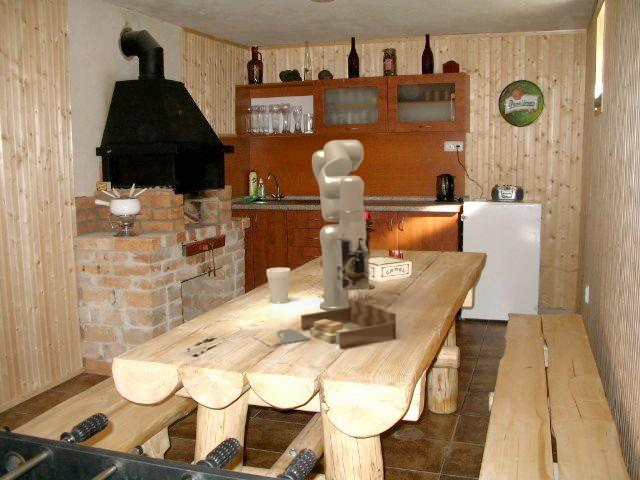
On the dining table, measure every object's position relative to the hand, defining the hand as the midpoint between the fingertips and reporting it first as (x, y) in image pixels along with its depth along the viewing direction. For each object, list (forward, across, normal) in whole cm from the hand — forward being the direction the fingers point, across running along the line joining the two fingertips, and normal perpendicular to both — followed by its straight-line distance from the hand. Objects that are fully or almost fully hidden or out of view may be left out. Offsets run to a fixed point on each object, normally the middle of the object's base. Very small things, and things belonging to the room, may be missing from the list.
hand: (352, 270), depth 210 cm
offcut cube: (+21, +9, -9) cm, 24 cm away
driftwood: (+21, -14, -46) cm, 53 cm away
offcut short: (+18, 0, -10) cm, 21 cm away
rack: (+21, 0, -3) cm, 21 cm away
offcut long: (+21, 0, -10) cm, 23 cm away
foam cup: (+21, -55, 0) cm, 59 cm away
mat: (+21, -8, -23) cm, 32 cm away
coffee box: (+6, 0, 0) cm, 6 cm away
